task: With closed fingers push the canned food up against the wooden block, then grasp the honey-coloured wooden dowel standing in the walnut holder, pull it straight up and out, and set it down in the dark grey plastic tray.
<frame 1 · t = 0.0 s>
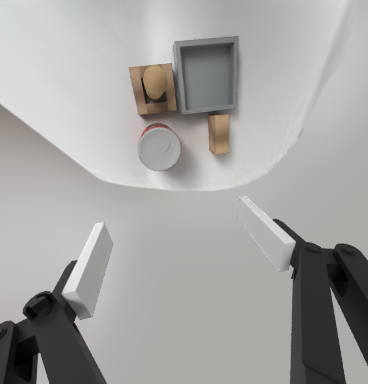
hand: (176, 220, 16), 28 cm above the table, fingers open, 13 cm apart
canned food: (157, 140, 40), on the table
wooden block: (214, 132, 41), on the table
holder: (154, 91, 35), on the table
tray: (204, 80, 36), on the table
dowel: (154, 87, 29), in the holder
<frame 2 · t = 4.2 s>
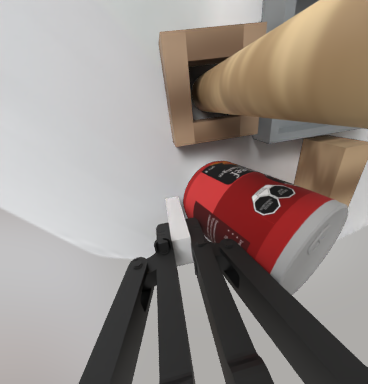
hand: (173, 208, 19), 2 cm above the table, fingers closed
canned food: (208, 191, 20), point 1 cm above the table, touching gripper, hand
wooden block: (307, 168, 22), on the table
holder: (207, 93, 16), on the table
tray: (314, 67, 17), on the table
dowel: (246, 84, 10), in the holder
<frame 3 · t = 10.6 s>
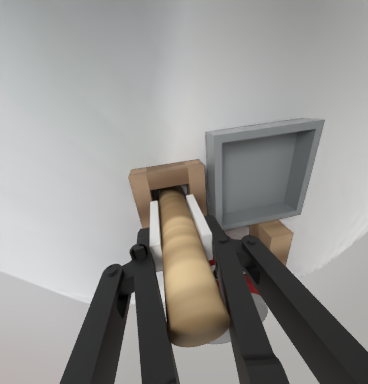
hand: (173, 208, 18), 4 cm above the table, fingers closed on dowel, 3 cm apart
canned food: (202, 244, 27), on the table
wooden block: (257, 233, 27), on the table
holder: (170, 194, 22), on the table
tray: (251, 173, 22), on the table
dowel: (178, 231, 15), in the holder, touching gripper
when the fingers open (6 cm above the table, at t = 16.2 s): dowel stays where it is, resting on tray.
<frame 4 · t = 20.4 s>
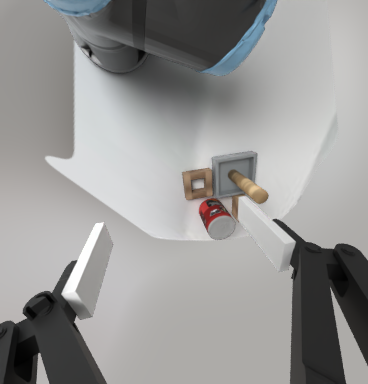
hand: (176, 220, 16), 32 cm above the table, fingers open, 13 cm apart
canned food: (209, 207, 56), on the table
wooden block: (236, 203, 56), on the table
holder: (196, 182, 50), on the table
tray: (231, 173, 51), on the table
dowel: (245, 184, 44), in the tray, point 8 cm above the table
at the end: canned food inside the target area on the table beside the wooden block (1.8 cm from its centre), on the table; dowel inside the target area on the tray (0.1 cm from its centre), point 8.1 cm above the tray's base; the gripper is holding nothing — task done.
